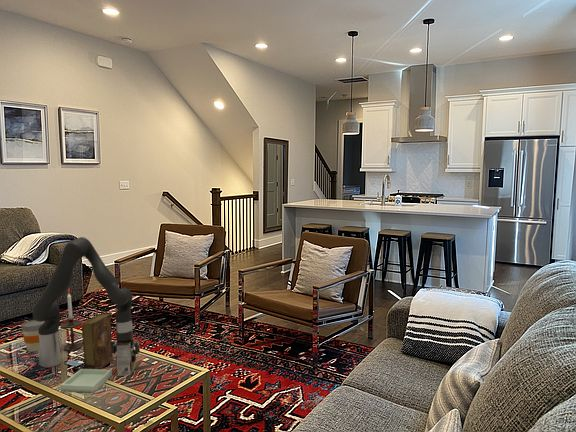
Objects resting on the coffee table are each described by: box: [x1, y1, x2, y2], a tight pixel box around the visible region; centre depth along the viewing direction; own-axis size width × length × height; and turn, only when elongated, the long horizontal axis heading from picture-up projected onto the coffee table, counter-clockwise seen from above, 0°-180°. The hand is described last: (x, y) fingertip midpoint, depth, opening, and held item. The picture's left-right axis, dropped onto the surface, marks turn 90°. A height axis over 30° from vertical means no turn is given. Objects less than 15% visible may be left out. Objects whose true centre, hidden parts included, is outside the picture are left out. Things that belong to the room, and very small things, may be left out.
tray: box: [59, 368, 113, 394], centre depth 203 cm, size 16×16×3 cm
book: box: [81, 312, 114, 370], centre depth 220 cm, size 16×6×25 cm, turn 168°
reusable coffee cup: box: [21, 319, 45, 353], centre depth 244 cm, size 13×13×15 cm
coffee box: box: [116, 336, 137, 377], centre depth 213 cm, size 9×6×16 cm
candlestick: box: [59, 286, 83, 352], centre depth 242 cm, size 11×11×35 cm
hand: (126, 361), depth 214 cm, fingers closed on coffee box, 7 cm apart
